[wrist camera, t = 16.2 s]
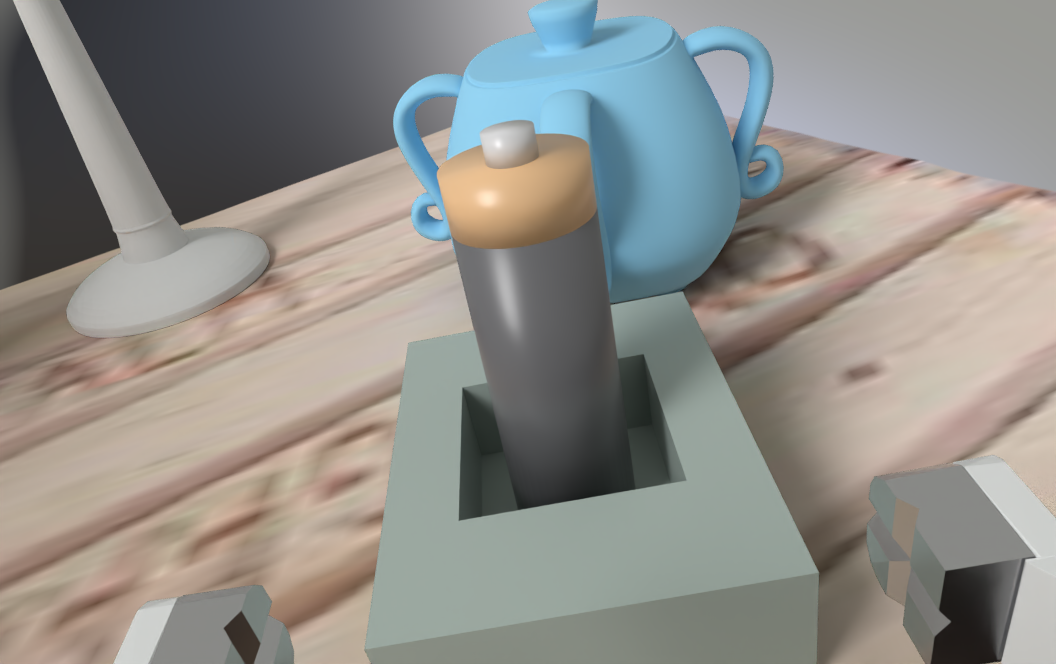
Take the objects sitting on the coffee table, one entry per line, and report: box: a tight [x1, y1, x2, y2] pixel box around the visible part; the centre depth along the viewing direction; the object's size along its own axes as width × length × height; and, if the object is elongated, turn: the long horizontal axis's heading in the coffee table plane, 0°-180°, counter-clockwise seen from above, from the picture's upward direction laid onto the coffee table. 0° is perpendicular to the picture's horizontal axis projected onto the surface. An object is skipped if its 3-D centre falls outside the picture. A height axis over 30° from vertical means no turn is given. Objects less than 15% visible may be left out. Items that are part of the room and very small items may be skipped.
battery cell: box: [437, 120, 636, 510], centre depth 23 cm, size 4×4×13 cm
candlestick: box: [13, 0, 270, 338], centre depth 43 cm, size 13×13×30 cm
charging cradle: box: [365, 292, 819, 664], centre depth 25 cm, size 11×14×4 cm
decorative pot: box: [393, 0, 783, 303], centre depth 39 cm, size 16×16×14 cm
